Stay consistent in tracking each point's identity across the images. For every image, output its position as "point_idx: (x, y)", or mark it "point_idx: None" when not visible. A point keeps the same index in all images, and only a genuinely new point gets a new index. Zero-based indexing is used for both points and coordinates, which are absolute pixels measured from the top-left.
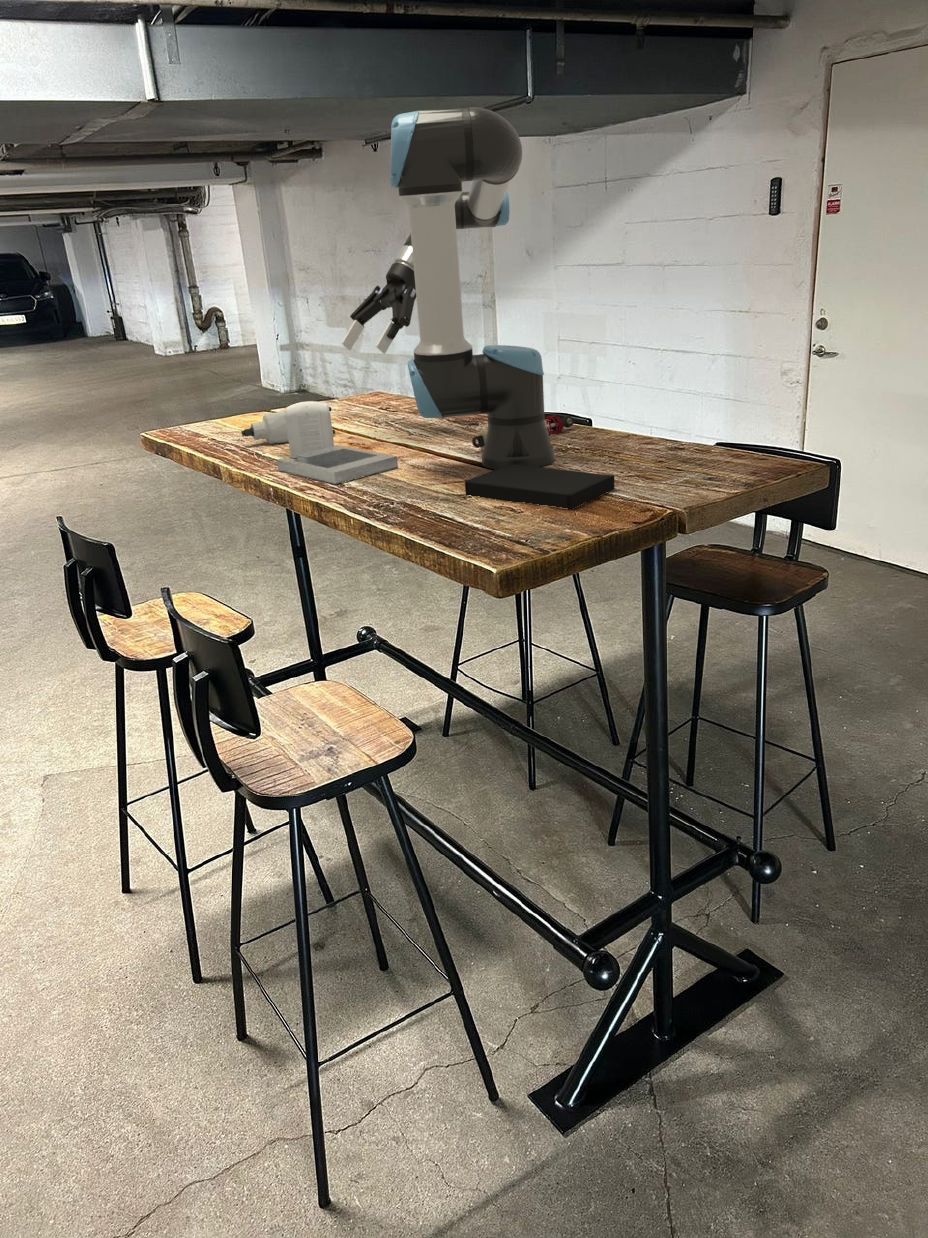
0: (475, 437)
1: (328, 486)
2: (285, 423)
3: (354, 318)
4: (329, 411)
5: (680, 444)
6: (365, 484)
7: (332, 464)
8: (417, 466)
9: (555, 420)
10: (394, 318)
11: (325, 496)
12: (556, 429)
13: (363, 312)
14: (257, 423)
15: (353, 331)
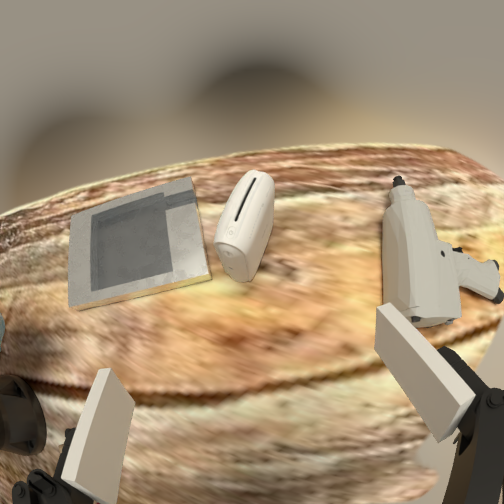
0: (65, 434)
1: None
2: (393, 231)
3: (490, 396)
4: (231, 254)
5: None
6: (56, 248)
7: (156, 248)
8: (67, 333)
9: None
10: (30, 477)
11: (59, 203)
12: None
13: (474, 468)
14: (407, 193)
15: (418, 373)
